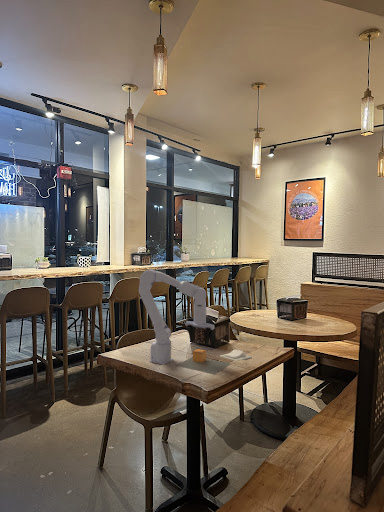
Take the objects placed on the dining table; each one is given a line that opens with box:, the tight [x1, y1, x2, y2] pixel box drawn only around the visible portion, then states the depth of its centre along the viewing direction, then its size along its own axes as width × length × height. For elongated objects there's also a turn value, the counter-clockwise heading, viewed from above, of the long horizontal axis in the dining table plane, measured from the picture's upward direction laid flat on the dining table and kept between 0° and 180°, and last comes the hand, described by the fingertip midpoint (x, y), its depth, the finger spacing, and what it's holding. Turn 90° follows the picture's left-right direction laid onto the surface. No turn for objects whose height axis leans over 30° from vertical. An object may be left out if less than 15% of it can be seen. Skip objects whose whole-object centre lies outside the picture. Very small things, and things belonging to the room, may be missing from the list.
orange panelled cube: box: [192, 348, 207, 362], centre depth 162 cm, size 5×5×4 cm
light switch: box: [219, 349, 252, 362], centre depth 169 cm, size 11×4×13 cm
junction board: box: [175, 356, 231, 375], centre depth 156 cm, size 20×16×1 cm
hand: (199, 342), depth 162 cm, fingers open, 7 cm apart
